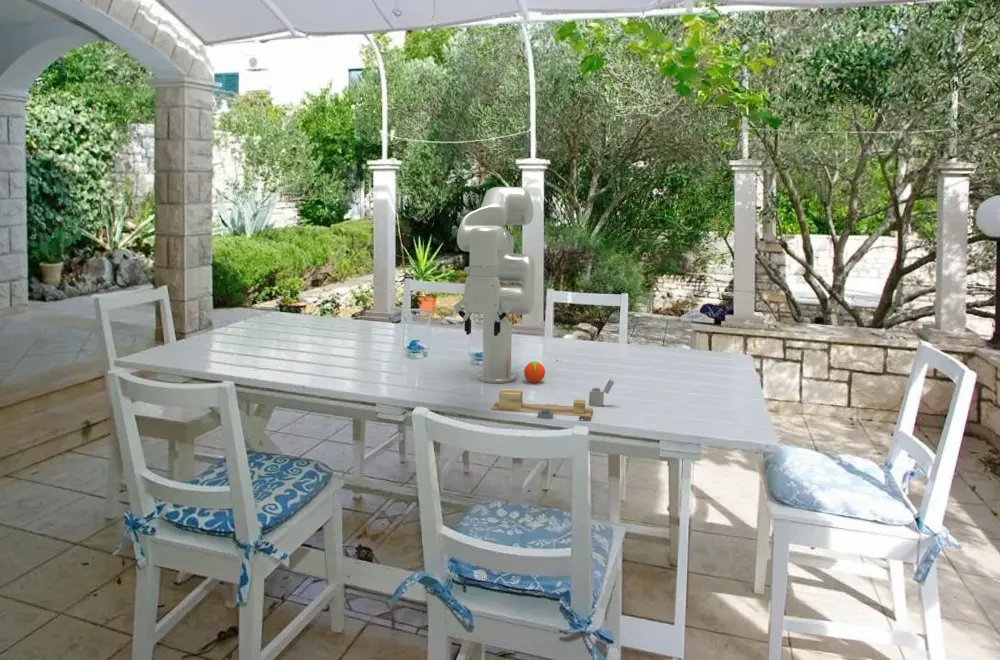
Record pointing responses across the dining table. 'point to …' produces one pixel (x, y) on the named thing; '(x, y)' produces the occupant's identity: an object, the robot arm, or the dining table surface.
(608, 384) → the lighter
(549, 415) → the fulcrum marker
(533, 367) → the clementine
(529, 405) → the beam
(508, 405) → the block
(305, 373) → the dining table surface
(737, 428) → the dining table surface
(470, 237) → the robot arm
